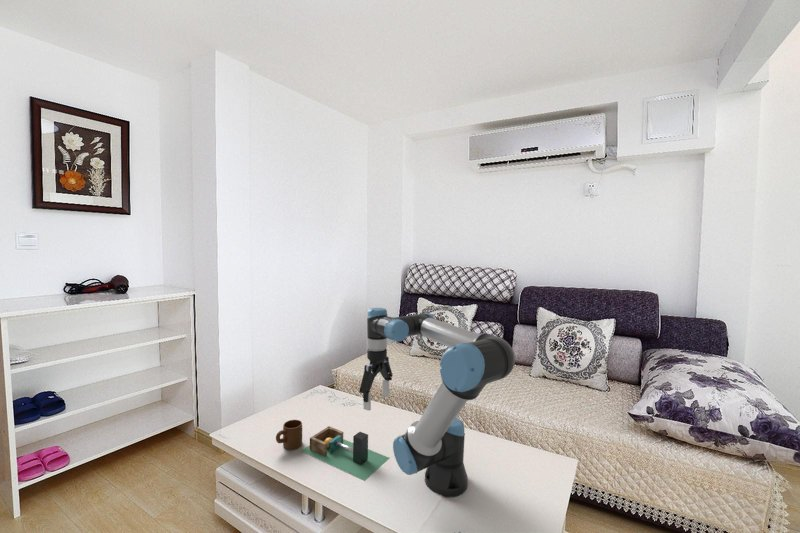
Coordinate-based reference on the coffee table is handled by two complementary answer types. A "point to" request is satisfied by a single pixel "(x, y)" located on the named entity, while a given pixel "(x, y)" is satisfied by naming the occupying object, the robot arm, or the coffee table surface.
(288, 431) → the mug
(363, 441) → the rod
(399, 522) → the coffee table surface
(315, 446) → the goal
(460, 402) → the robot arm
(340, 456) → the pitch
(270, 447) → the coffee table surface
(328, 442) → the ball
